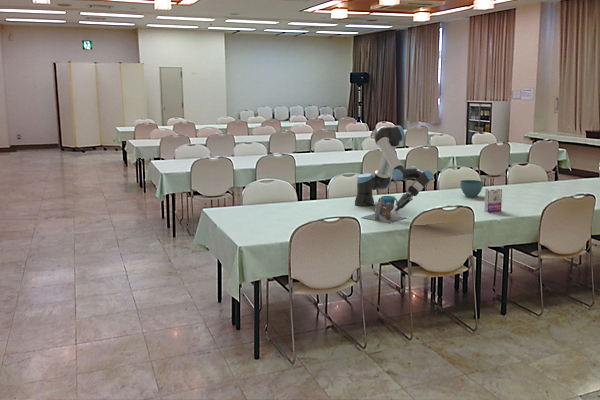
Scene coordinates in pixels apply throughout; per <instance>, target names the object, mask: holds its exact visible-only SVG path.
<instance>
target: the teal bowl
mask: <svg viewBox="0 0 600 400" xmlns="http://www.w3.org/2000/svg"><path fill="white" fill-rule="evenodd" d="M459 184H460V188H461V191H462V194H464V196H465V198H466V197H467V198H476V197H478V195H480V193H481V192H482V189H483V186H484V181H482V180H475V179H474V180H473V179H464V180H460V181H459Z"/></svg>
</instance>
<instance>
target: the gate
mask: <svg viewBox="0 0 600 400" xmlns="http://www.w3.org/2000/svg"><path fill="white" fill-rule="evenodd" d="M382 215H384V216H385V217H386V219H390V217H391V215H392V214H391V204H386V207H384V204H382Z"/></svg>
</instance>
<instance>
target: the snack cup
mask: <svg viewBox="0 0 600 400" xmlns="http://www.w3.org/2000/svg"><path fill="white" fill-rule="evenodd" d="M380 198H384V207H386V204H391V211H392V210H393V209H394V208H395V204H396V203H397V202H398V201H399V200H398V199H397V198H396V196H395V195H394V196H393V195H381V196H380V197H379V198H378V200H377V202H380Z"/></svg>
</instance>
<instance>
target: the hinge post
mask: <svg viewBox="0 0 600 400" xmlns="http://www.w3.org/2000/svg"><path fill="white" fill-rule="evenodd" d="M379 198H380V197H379ZM382 204H384V198H380V215H382Z"/></svg>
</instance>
